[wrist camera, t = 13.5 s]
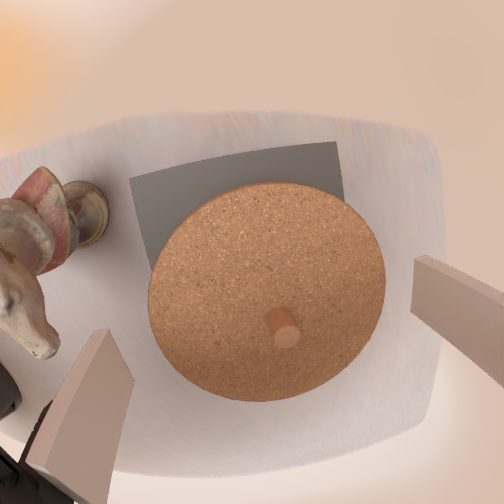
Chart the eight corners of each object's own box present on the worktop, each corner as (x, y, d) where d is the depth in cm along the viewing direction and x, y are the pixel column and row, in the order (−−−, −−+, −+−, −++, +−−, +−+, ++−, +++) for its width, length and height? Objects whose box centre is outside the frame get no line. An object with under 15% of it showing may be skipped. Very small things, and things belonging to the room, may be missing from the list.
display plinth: (190, 303, 29) (182, 358, 20) (159, 177, 25) (129, 178, 16) (311, 277, 30) (350, 319, 21) (295, 151, 26) (336, 141, 17)
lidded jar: (153, 203, 16) (92, 233, 7) (312, 165, 17) (400, 161, 8) (199, 342, 20) (196, 442, 11) (333, 305, 20) (398, 381, 11)
